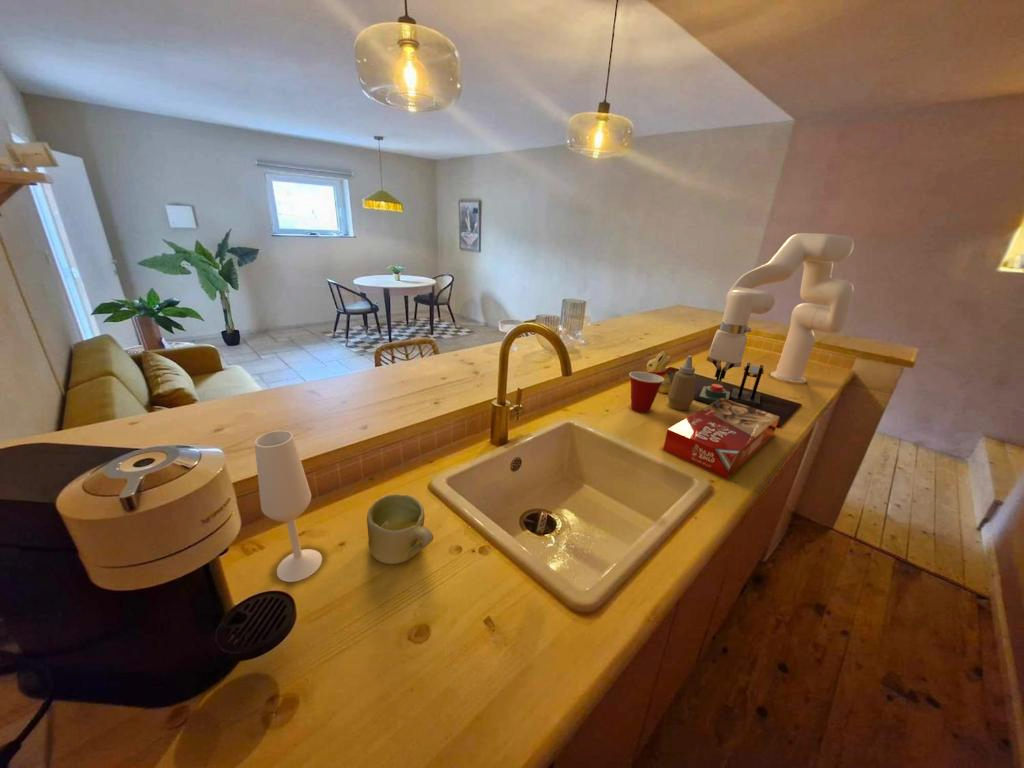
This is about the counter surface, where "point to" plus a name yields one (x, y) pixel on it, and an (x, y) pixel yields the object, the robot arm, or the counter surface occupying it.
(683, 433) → the food box
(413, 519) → the mug
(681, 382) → the squeeze bottle
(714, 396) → the button housing
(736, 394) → the bracket
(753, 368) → the lever
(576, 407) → the counter surface
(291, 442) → the champagne flute
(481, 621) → the counter surface
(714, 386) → the button
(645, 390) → the plastic cup
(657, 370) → the chocolate bunny
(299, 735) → the counter surface
